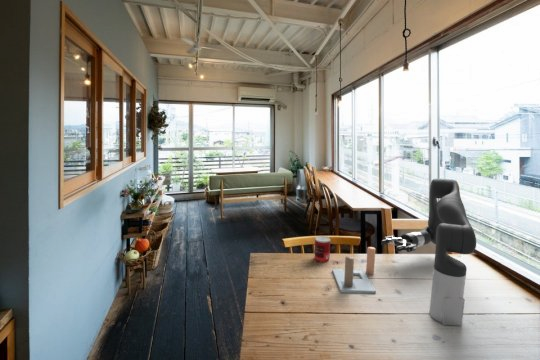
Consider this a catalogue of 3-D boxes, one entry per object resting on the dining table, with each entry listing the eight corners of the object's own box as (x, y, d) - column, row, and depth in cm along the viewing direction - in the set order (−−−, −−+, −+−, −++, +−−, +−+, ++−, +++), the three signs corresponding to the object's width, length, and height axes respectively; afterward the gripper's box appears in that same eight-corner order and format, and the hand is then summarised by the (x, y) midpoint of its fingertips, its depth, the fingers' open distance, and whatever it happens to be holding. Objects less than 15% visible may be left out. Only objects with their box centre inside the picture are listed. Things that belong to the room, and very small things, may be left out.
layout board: (375, 293, 111) (377, 262, 109) (340, 292, 111) (342, 261, 109) (362, 271, 128) (364, 245, 127) (332, 271, 129) (333, 244, 127)
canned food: (328, 256, 146) (329, 236, 144) (330, 262, 138) (331, 241, 136) (314, 255, 146) (314, 235, 145) (314, 262, 138) (315, 241, 137)
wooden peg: (374, 274, 126) (376, 249, 124) (367, 274, 126) (368, 249, 124) (372, 271, 129) (373, 247, 127) (365, 271, 129) (366, 246, 127)
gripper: (400, 228, 143) (377, 233, 136) (426, 237, 131) (402, 243, 124) (399, 242, 145) (376, 247, 138) (424, 252, 132) (401, 259, 125)
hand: (388, 245), depth 131 cm, fingers open, 8 cm apart
